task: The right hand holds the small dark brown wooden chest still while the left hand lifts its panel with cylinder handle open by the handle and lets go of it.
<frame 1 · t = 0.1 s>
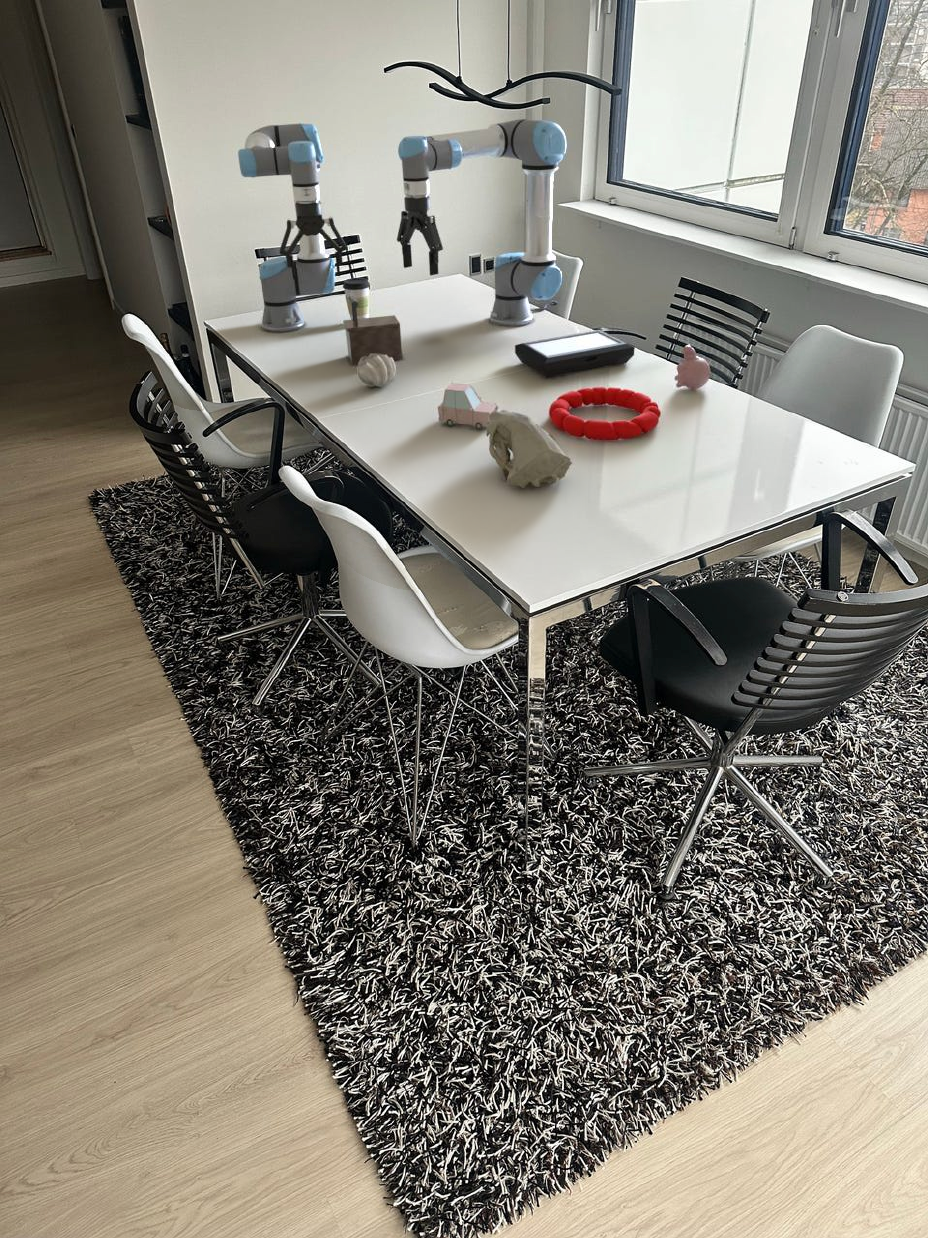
left hand: (316, 276, 273), 28 cm above the table, tool pointing down, fingers open, 13 cm apart
right hand: (420, 270, 275), 28 cm above the table, tool pointing down, fingers open, 13 cm apart
decorative ring: (603, 422, 244), on the table
toy car: (468, 423, 246), on the table
coffee cup: (360, 323, 327), on the table
electronic device: (573, 363, 284), on the table
chest: (375, 357, 294), on the table
animal skull: (520, 470, 220), on the table
panel with cylinder handle: (370, 310, 286), point 15 cm above the table, hinge at 0.0°
seashell: (378, 386, 272), on the table
figurine: (690, 388, 263), on the table
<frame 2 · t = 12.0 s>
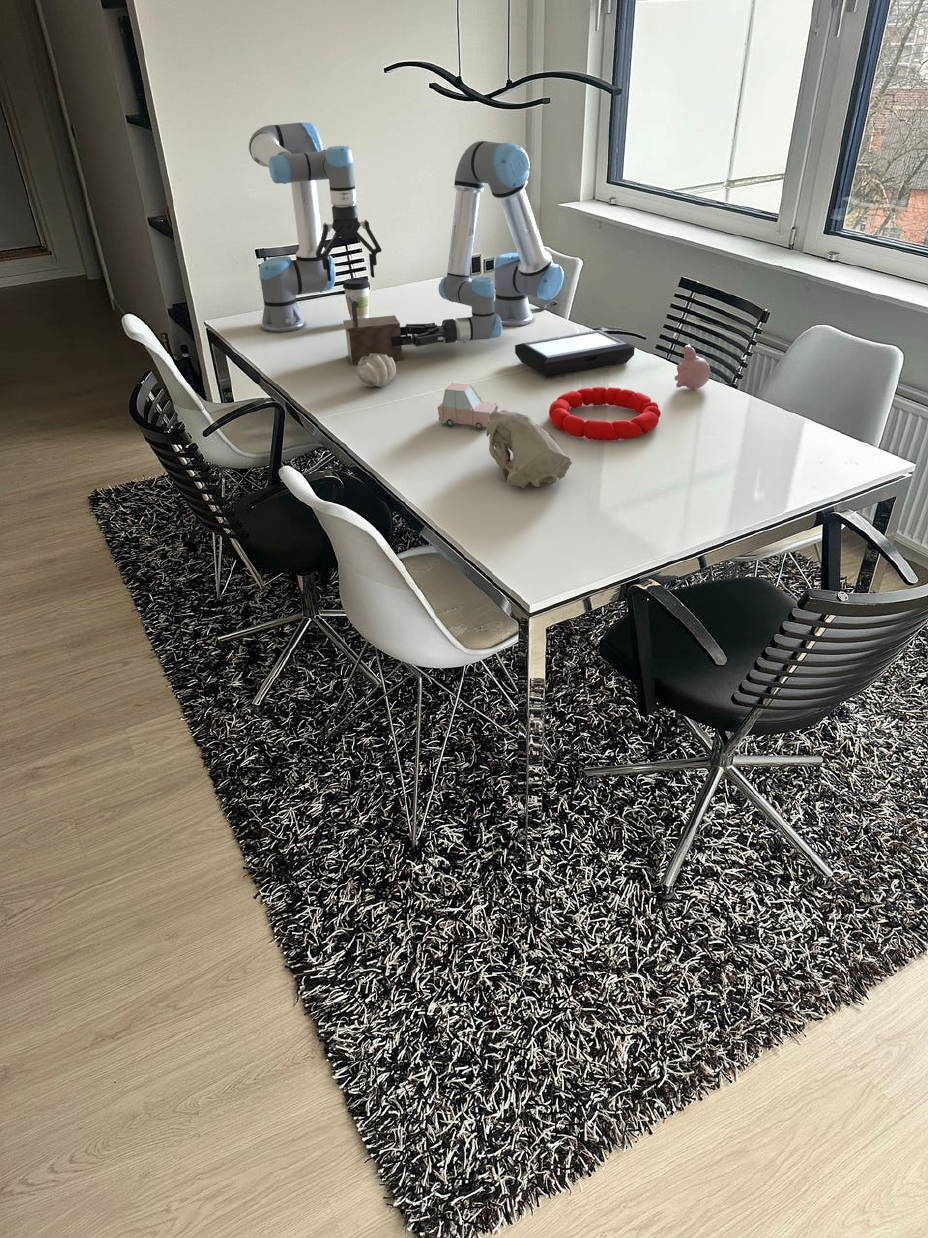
left hand: (351, 278, 279), 26 cm above the table, tool pointing down, fingers open, 13 cm apart
right hand: (389, 337, 292), 6 cm above the table, tool horizontal, fingers closed on chest, 9 cm apart
chest: (375, 357, 294), on the table, touching right hand
everything else where it was.
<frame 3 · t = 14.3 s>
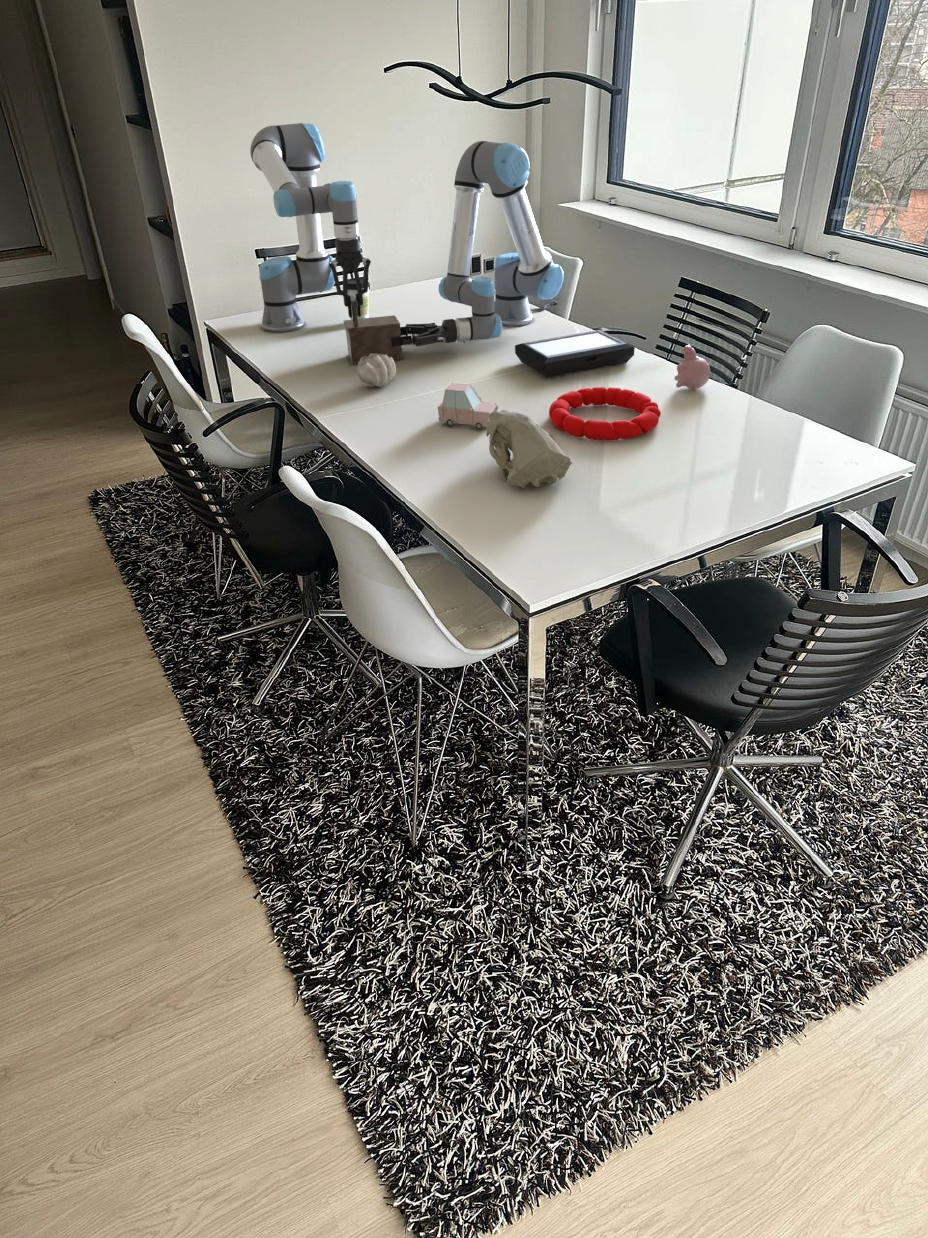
left hand: (354, 315, 285), 14 cm above the table, tool pointing down, fingers closed on panel with cylinder handle, 2 cm apart
right hand: (389, 337, 292), 6 cm above the table, tool horizontal, fingers closed on chest, 9 cm apart
chest: (375, 357, 294), on the table, touching right hand
panel with cylinder handle: (370, 310, 286), point 15 cm above the table, hinge at -0.1°, touching left hand
everything else where it was.
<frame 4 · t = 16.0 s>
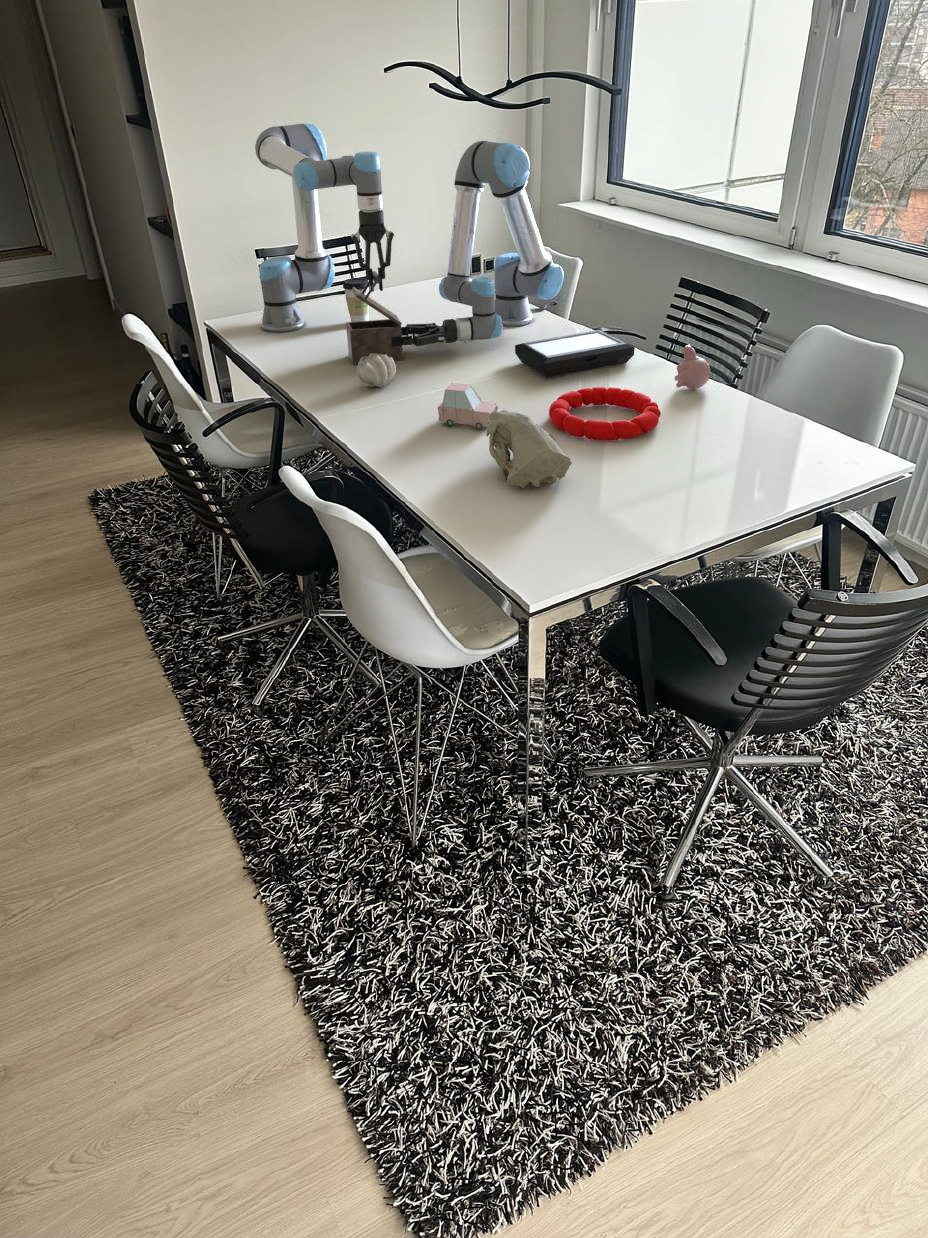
left hand: (376, 289, 283), 22 cm above the table, tool pointing down, fingers closed on panel with cylinder handle, 2 cm apart
right hand: (389, 337, 292), 6 cm above the table, tool horizontal, fingers closed on chest, 9 cm apart
chest: (375, 357, 294), on the table, touching right hand
panel with cylinder handle: (383, 295, 284), point 20 cm above the table, hinge at 36.5°, touching left hand
everything else where it was.
when the right hand's fingers open (6 cm above the table, at t = 21.6 s): chest stays where it is, on the table.
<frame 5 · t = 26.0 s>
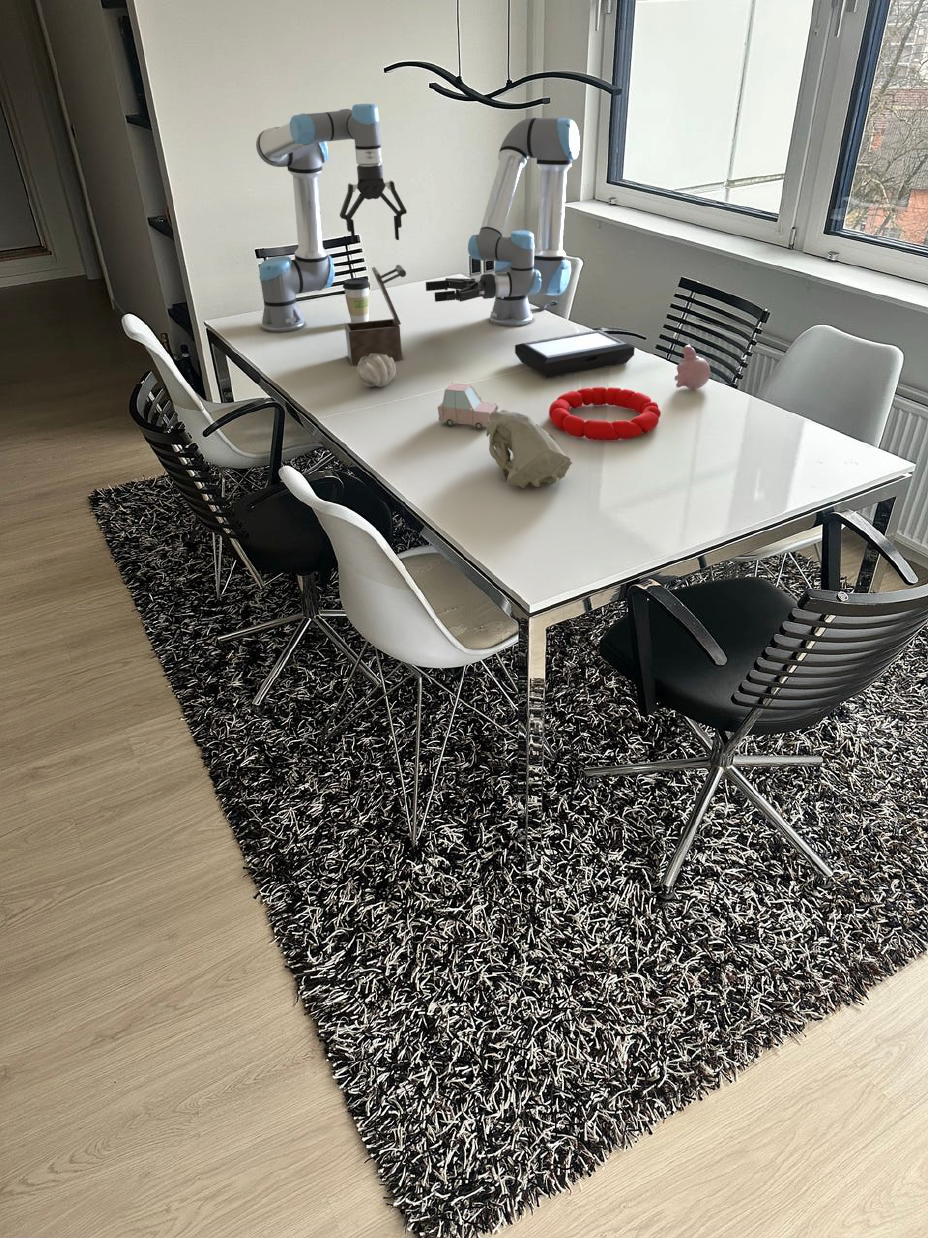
left hand: (375, 240, 274), 36 cm above the table, tool pointing down, fingers open, 13 cm apart
right hand: (430, 291, 287), 19 cm above the table, tool horizontal, fingers open, 13 cm apart
chest: (374, 357, 294), on the table
panel with cylinder handle: (397, 290, 284), point 21 cm above the table, hinge at 70.4°
everything else where it was.
at the end: panel with cylinder handle at +70° (first picture: +0°); the left hand is holding nothing; the right hand is holding nothing; chest tilted 0°; chest never tilted more than 2° during the clip; chest moved 0.1 cm from its start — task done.
